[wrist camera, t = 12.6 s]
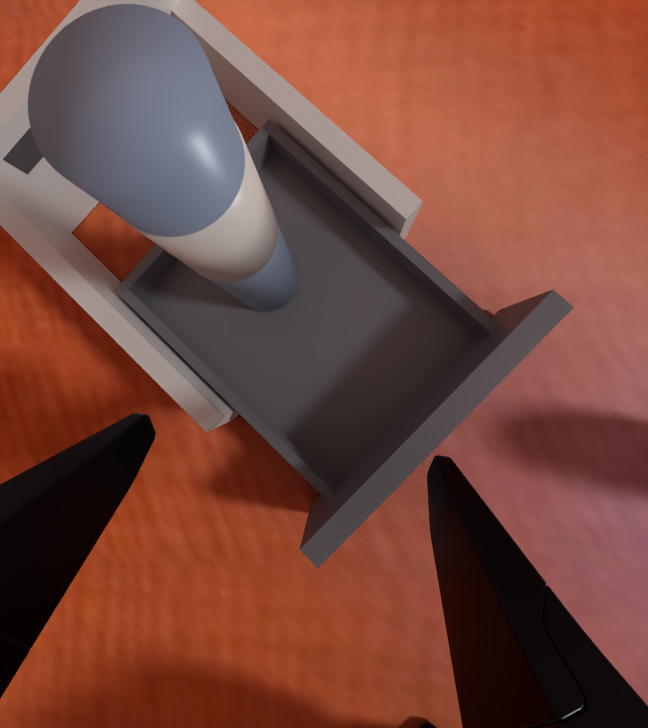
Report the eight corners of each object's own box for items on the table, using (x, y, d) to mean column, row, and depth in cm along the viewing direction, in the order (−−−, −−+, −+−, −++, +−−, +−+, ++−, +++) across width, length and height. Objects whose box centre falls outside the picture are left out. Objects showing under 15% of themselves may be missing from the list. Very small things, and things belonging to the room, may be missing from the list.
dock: (406, 236, 19) (435, 175, 13) (234, 419, 19) (185, 441, 13) (204, 57, 20) (145, -77, 14) (48, 234, 21) (-74, 178, 15)
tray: (514, 323, 18) (573, 307, 13) (324, 518, 19) (317, 568, 14) (297, 130, 19) (282, 53, 14) (125, 319, 20) (57, 304, 15)
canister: (266, 326, 18) (118, 236, 6) (219, 280, 18) (-13, 106, 6) (312, 277, 18) (257, 87, 6) (265, 232, 18) (118, -38, 6)
